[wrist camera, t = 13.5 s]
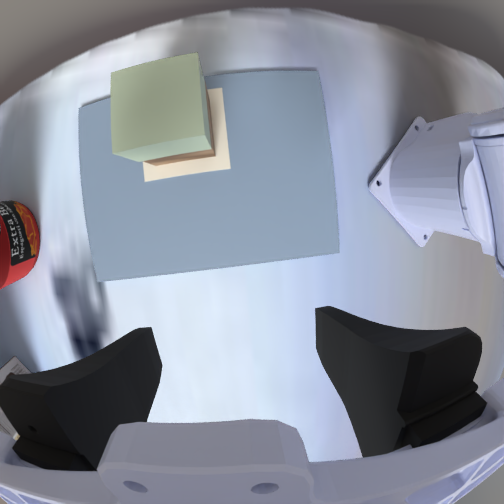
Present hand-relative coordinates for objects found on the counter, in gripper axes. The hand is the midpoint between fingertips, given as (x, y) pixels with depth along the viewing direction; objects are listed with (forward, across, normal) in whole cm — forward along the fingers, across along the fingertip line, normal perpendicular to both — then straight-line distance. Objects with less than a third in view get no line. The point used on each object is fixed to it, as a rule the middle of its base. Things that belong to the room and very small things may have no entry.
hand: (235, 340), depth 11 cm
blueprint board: (+10, +2, -8) cm, 13 cm away
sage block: (+6, +2, -11) cm, 13 cm away
